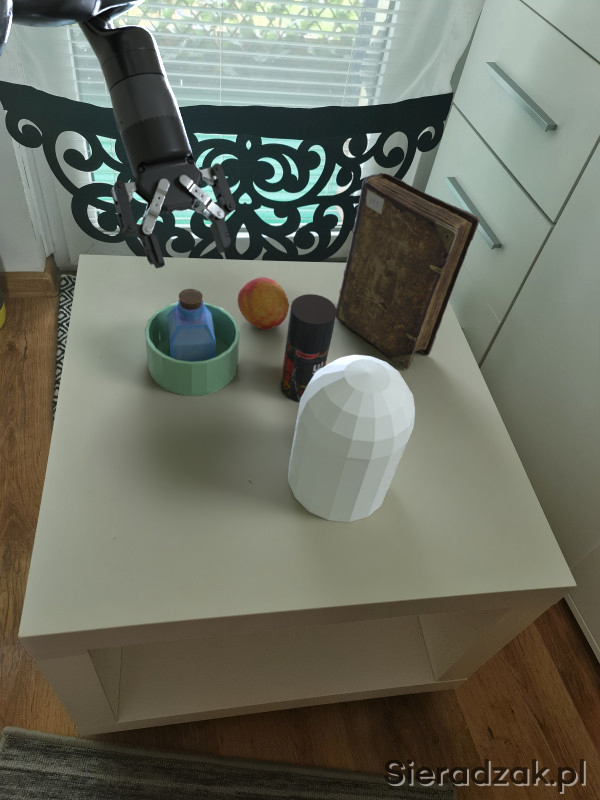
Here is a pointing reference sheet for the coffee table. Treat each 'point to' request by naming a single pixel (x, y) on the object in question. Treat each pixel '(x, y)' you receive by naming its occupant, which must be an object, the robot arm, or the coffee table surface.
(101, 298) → the coffee table surface
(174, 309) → the perfume bottle
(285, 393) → the deodorant
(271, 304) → the fruit
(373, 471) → the white dome-topped cylinder
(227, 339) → the green bowl
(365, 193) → the book
